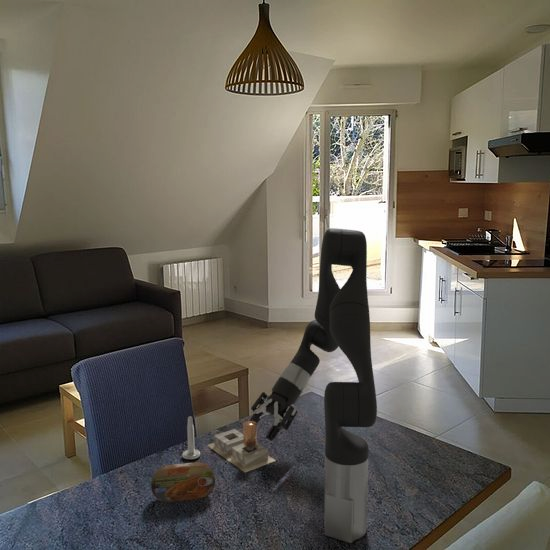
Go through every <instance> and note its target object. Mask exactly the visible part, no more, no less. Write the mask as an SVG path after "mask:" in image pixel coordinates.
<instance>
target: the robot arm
mask: <svg viewBox="0 0 550 550" xmlns="http://www.w3.org/2000/svg"><path fill="white" fill-rule="evenodd" d="M321 241H322V242H321V248H320V260H319V261H320V263H319V274H318V277H319V278H318V280H319V281H318V295H317V299H316V305H315V311H314V320H311V321H310V322H309V323H308V324H307V325H306V327H305V330H304V332H303V337H302V339H301V342H300V346H299V347H298V349H297V351H296V353H295V355H294V356H293V357H292V359H291V361H290V363H288V364H287V366H286V367H285V368H284V370H283V372H282V373H281V374H280V375H279V377H278V379H277V380H276V382H275V383H274V385H273V386H272V388H271V394H270V395H268V394H267V393H266V392H264V391H263V392H261V394H260V395H259V396H258V398H257V399H256V400H255V401H254V404H252V406H251V408H250V409H251V411H252V412H253V415H252V416H251V417H250V419H249V420H248V421H254V422H256V423H257V424H258V423H259V422H260V420H261V418H262V417H264V416H268V415H271V416H273V418H274V424H273V425H272V426H271V427H270V429H269V431H268V432H267V433H266V435H265V438H266V439H267V440H268V441H270V442H272V441H273V440H274V439H275V438H277V435H278V434H279V432H280V431H282V430H285V431H288V430H289V429H290V426H291V425H292V423H293V421H294V420H295V419H296V417H297V414H298V410H297V409H296V408H295V407H294V406H293V405H295V404H296V403H297V402H298V399H299V397H301V394H302V393H303V391H304V390H305V388H306V387H307V385H308V383H309V381H310V379H311V377H312V376H313V374H314V372H315V371H316V369H317V368H318V366H319V364H320V361H321V360H320V357H319V356H318V355H317V354H316V353H315V352H314V351H313V350H312V349H311V347H312V345H313V346H315V347H317V348H318V349H320V350H322V351H324V352H327V353H332V352H334V351H336V350H337V349H338V348H339V349H340V350H341V351H342V353H343V354H344V355H345V356H346V358H347V359H348V361H349V362H350V364H351V365H352V367H353V369H354V372H355V374H356V377H357V382H355V381H330V382H328V383H327V384H326V386H325V388H324V389H325V390H324V396H323V403H324V405H323V407H324V409H323V410H324V424H325V426H324V427H325V428H324V429H325V434H324V435H325V440H324V441H325V442H324V504H323V505H324V509H323V510H324V514H323V515H324V519H323V521H324V525H323V526H324V536H326V537H330V538H332V539H336V540H339V541H342V542H345V543H349V544H352V543H353V542H354V541H356V540H359V539H361V538H362V537H364V536H365V535H366V534H367V529H368V527H367V526H368V490H369V489H368V488H369V487H368V484H369V483H368V479H369V478H368V477H369V445H368V442H367V441H366V439H365V438H362V437H361V436H359V435H357V434H355V433H352V432H350V431H348V430H346V429H344V428H371V427H373V426H374V425H375V423H376V421H377V415H378V404H377V403H378V401H377V394H376V384H375V378H374V370H373V368H374V367H373V362H372V361H373V360H372V351H371V350H372V349H371V348H372V347H371V343H372V342H371V321H370V319H371V318H370V317H371V316H370V305H369V297H368V296H369V295H368V284H367V280H368V279H367V278H368V277H367V269H368V267H367V265H368V264H367V263H368V261H367V259H368V256H367V255H368V253H367V252H368V251H367V248H368V247H367V244H368V243H367V238H366V235H365V234H364V232H363V231H360V230H355V229H354V230H353V229H346V228H345V229H344V228H331V227H330V228H328V229H327V230H326V231H325V232H324V234H323V238H322V240H321ZM332 265H333V266H334V265H335V266H344V267H346V266H347V267H350V268H352V271H351V273H350V275H349V277H348V279H347V280H346V282H345V283H344V284H343V286H341V287H340V286H339V283H338V282H337V280H336V277H335V276H334V274H333V266H332Z"/></svg>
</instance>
